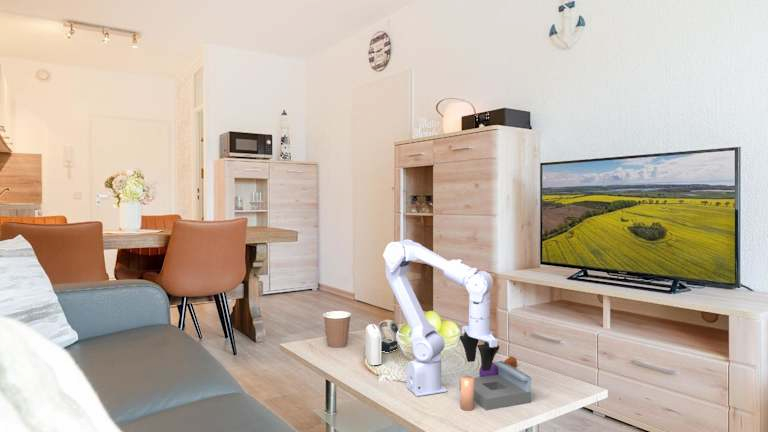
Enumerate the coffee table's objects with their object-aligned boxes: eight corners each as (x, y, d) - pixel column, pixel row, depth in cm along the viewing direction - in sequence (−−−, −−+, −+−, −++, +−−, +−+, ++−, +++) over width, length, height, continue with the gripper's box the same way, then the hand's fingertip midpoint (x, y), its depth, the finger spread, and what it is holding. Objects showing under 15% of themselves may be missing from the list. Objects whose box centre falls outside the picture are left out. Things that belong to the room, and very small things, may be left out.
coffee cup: (339, 340, 193) (339, 309, 192) (356, 346, 185) (356, 314, 184) (317, 346, 186) (317, 313, 185) (334, 352, 178) (334, 319, 178)
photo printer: (364, 356, 174) (364, 321, 173) (376, 356, 175) (376, 320, 174) (369, 367, 164) (369, 329, 163) (382, 366, 165) (382, 328, 164)
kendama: (522, 356, 163) (496, 368, 148) (518, 373, 164) (491, 387, 148) (506, 349, 167) (478, 360, 151) (502, 366, 168) (473, 379, 152)
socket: (486, 410, 132) (486, 383, 131) (459, 390, 145) (459, 366, 144) (530, 402, 137) (531, 377, 136) (501, 384, 150) (501, 360, 149)
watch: (392, 354, 176) (393, 323, 176) (374, 350, 181) (374, 320, 180) (402, 350, 181) (402, 320, 180) (384, 346, 185) (384, 317, 185)
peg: (464, 411, 131) (464, 381, 130) (457, 406, 134) (458, 376, 134) (476, 409, 132) (476, 379, 132) (469, 404, 135) (469, 375, 135)
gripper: (507, 321, 132) (506, 372, 132) (477, 309, 145) (476, 355, 146) (484, 324, 129) (483, 376, 130) (455, 311, 143) (455, 358, 143)
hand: (478, 365), depth 138 cm, fingers open, 7 cm apart
